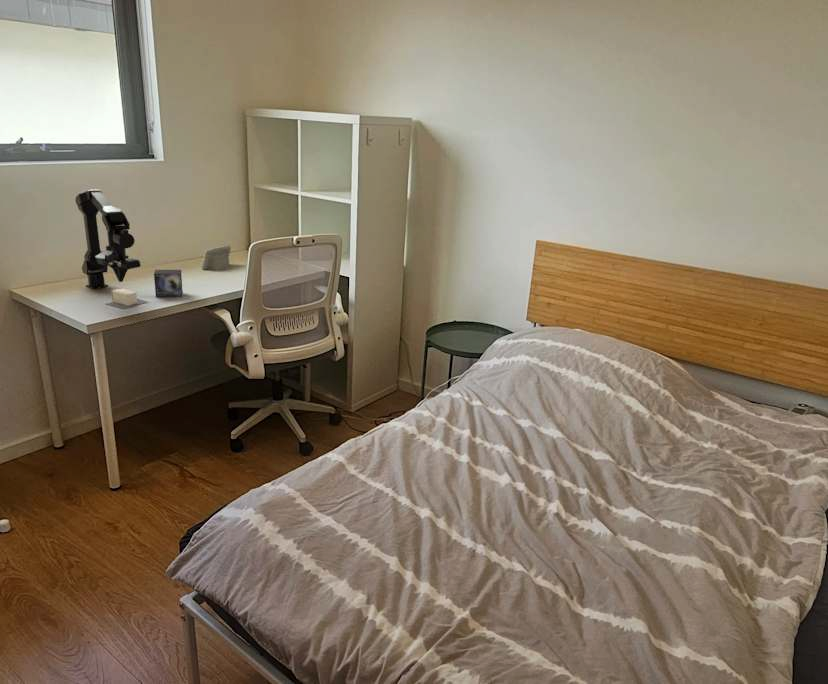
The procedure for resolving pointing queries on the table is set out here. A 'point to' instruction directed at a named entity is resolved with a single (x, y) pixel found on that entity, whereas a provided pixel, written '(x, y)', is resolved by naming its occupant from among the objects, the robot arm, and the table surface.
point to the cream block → (124, 296)
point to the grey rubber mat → (126, 305)
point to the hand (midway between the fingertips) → (120, 281)
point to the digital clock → (216, 258)
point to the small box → (168, 283)
